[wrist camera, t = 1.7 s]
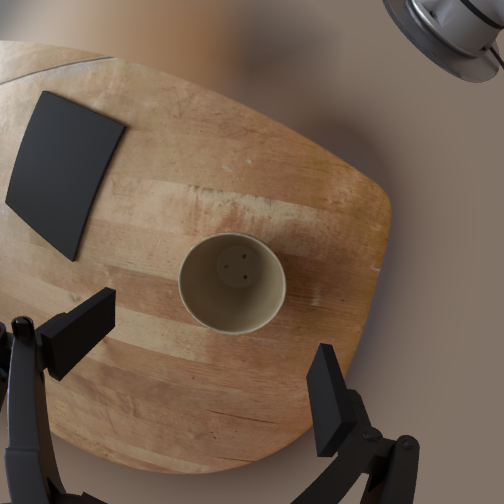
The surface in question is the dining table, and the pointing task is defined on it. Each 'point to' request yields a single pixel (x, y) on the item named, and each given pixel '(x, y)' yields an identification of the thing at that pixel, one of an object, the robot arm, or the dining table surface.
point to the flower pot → (232, 283)
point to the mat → (61, 169)
